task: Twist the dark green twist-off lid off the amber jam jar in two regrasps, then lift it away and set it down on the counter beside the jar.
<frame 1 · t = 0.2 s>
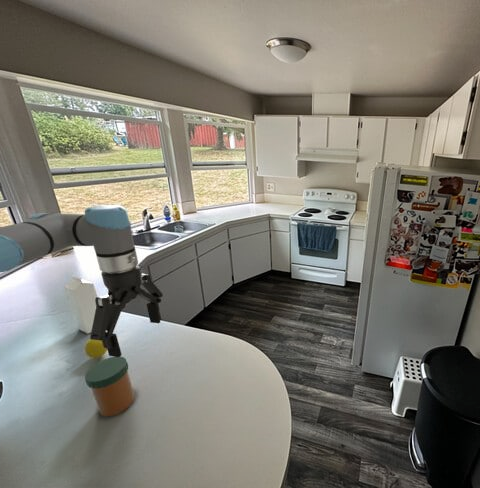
hand: (137, 337, 69), 17 cm above the table, tool pointing down, fingers open, 13 cm apart
lemon: (99, 357, 84), on the table
jam jar: (117, 403, 69), on the table
jar lid: (106, 369, 65), point 12 cm above the table, screwed on, not yet turned
milk: (93, 327, 98), on the table
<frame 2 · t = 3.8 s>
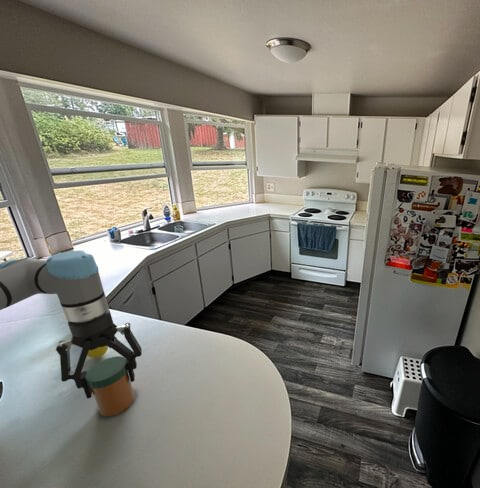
hand: (112, 385, 67), 6 cm above the table, tool pointing down, fingers closed on jar lid, 8 cm apart
jar lid: (106, 369, 65), point 12 cm above the table, screwed on, not yet turned, touching gripper
everything else where it was.
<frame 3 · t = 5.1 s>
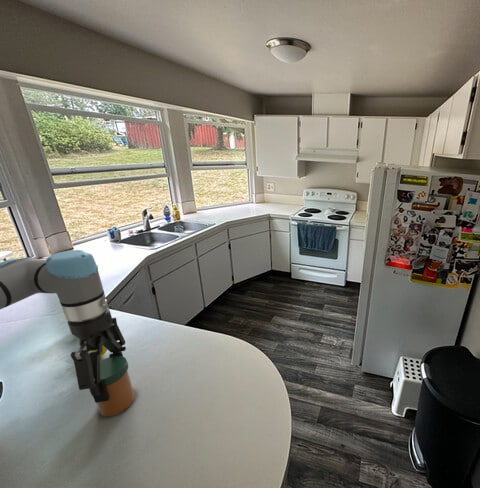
hand: (112, 385, 67), 6 cm above the table, tool pointing down, fingers closed on jar lid, 8 cm apart
jar lid: (106, 368, 65), point 12 cm above the table, turned 68° so far, risen 0.2 cm, still on its thread, touching gripper
everything else where it was.
when the fingers open (6 cm above the table, at t = 6.4 s): jar lid stays where it is, point 12 cm above the table.
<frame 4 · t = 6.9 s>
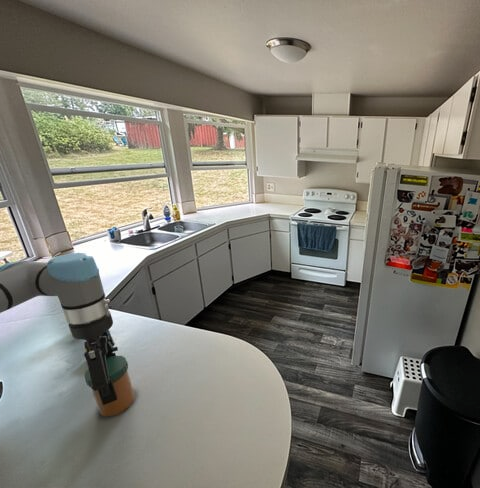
hand: (112, 386, 67), 6 cm above the table, tool pointing down, fingers open, 10 cm apart
jar lid: (106, 368, 65), point 12 cm above the table, turned 90° so far, risen 0.2 cm, still on its thread
everything else where it was.
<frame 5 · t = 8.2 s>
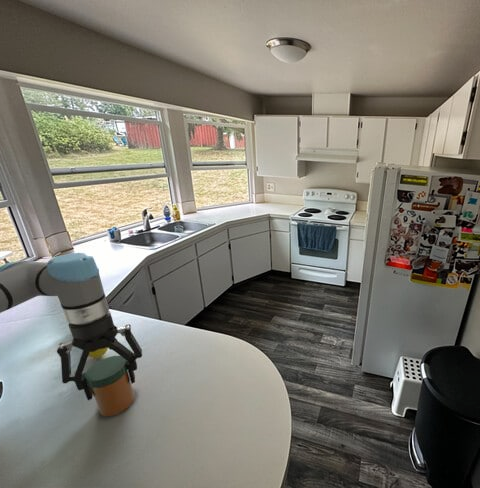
hand: (112, 387, 67), 6 cm above the table, tool pointing down, fingers closed on jar lid, 8 cm apart
jar lid: (106, 368, 65), point 12 cm above the table, turned 90° so far, risen 0.2 cm, still on its thread, touching gripper
everything else where it was.
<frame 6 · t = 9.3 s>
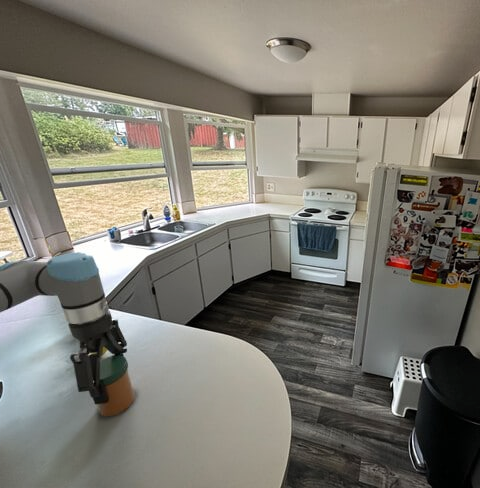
hand: (112, 387, 67), 6 cm above the table, tool pointing down, fingers closed on jar lid, 8 cm apart
jar lid: (106, 368, 65), point 12 cm above the table, off its thread, touching gripper
everything else where it was.
when the fingers open (2 cm above the table, at t = 16.7 s): jar lid drops 6 cm, point 2 cm above the table.
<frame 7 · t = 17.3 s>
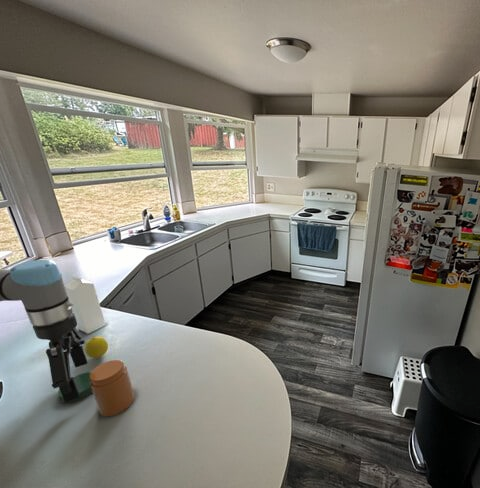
hand: (77, 380, 72), 3 cm above the table, tool pointing down, fingers open, 13 cm apart
jar lid: (79, 384, 72), point 2 cm above the table, off its thread
everything else where it was.
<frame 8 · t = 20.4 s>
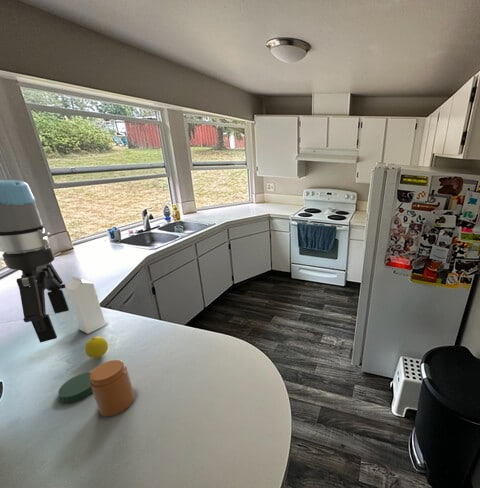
hand: (56, 324, 65), 23 cm above the table, tool pointing down, fingers open, 13 cm apart
nothing on the table moved.
at the end: jar lid came off its thread; jar lid point 1.9 cm above the table; the gripper is holding nothing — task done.
